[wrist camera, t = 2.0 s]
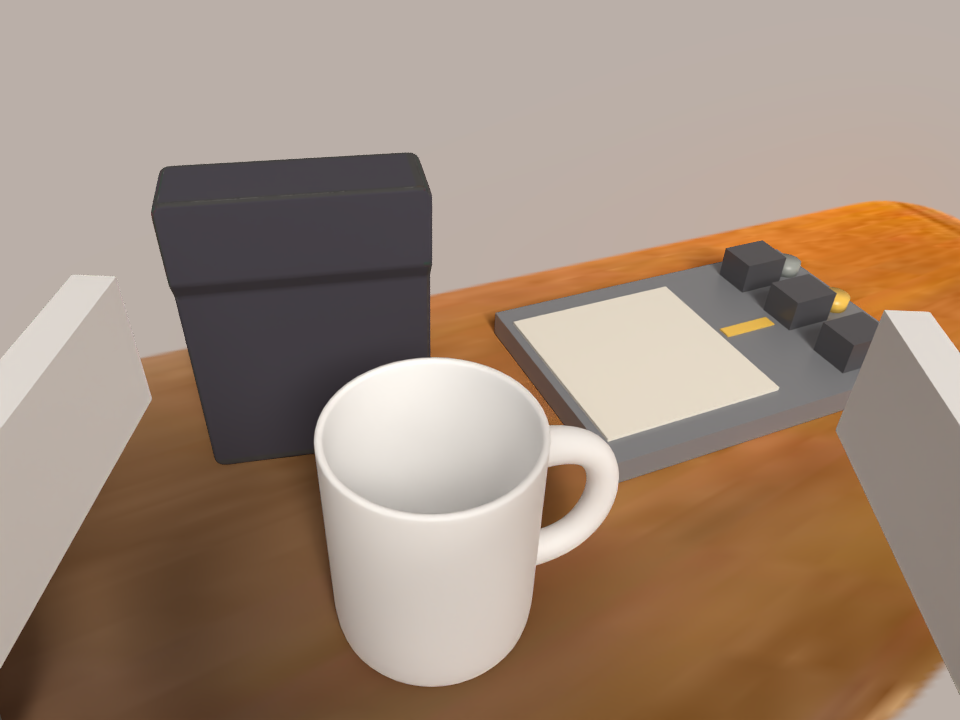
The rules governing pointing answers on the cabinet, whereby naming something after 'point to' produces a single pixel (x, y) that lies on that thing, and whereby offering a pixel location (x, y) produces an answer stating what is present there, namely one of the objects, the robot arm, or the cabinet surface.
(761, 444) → the cabinet surface
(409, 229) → the dark grey box
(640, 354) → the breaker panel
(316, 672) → the cabinet surface
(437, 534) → the mug
